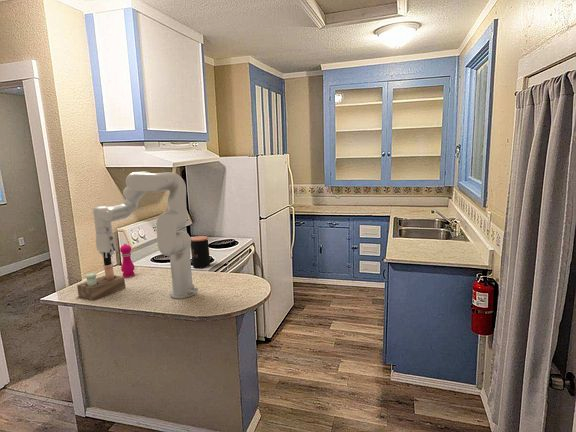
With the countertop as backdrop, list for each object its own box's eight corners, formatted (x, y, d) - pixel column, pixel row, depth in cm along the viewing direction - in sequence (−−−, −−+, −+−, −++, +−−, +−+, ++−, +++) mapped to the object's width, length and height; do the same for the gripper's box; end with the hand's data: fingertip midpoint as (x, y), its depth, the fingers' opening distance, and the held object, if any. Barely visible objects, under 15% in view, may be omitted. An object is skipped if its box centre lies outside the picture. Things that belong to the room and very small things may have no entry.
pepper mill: (119, 276, 213) (115, 243, 210) (129, 273, 219) (126, 240, 216) (127, 278, 210) (123, 244, 207) (138, 274, 216) (134, 241, 213)
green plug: (100, 293, 186) (98, 273, 184) (92, 296, 181) (89, 276, 180) (94, 292, 188) (92, 272, 186) (86, 295, 184) (83, 275, 182)
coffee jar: (191, 265, 230) (188, 237, 227) (208, 262, 235) (205, 235, 232) (194, 269, 221) (191, 240, 218) (211, 267, 225) (209, 238, 222)
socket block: (125, 287, 194) (124, 276, 193) (93, 300, 178) (92, 288, 177) (110, 284, 200) (109, 274, 199) (78, 296, 184) (77, 285, 183)
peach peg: (117, 283, 194) (115, 263, 192) (109, 286, 190) (107, 266, 188) (111, 282, 196) (109, 263, 194) (103, 284, 192) (101, 265, 190)
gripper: (120, 229, 188) (123, 264, 191) (101, 227, 195) (105, 261, 198) (106, 232, 182) (111, 268, 185) (87, 230, 189) (92, 265, 192)
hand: (108, 264), depth 191 cm, fingers closed
